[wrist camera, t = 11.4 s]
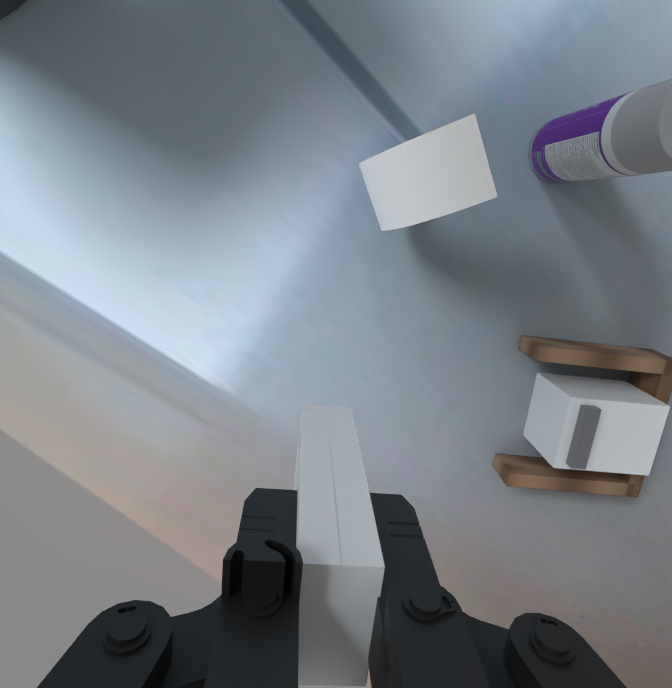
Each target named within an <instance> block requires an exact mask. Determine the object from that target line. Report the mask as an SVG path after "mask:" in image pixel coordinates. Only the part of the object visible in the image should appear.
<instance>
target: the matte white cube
mask: <svg viewBox="0 0 672 688" xmlns="http://www.w3.org/2000/svg"><path fill="white" fill-rule="evenodd" d="M669 409H670V406H669V405H667V404H665V403H663V402H662V401H660V400H658V399H656V398H654V397H653V396H651V395H649V394H647V393H645V392H644V391H642V390H640V389H638V388H636V387H635V386H633V385H631V384H629V383H628V382H626V381H622V380H611V379H601V378H590V377H580V376H569V375H559V374H548V373H538V372H537V377H536V381H535V385H534V390H533V394H532V398H531V403H530V407H529V412H528V416H527V420H526V425H525V429H524V433H523V435H524V437H525V438H526V439H527V440H528V441H529V442H530V443H531V444H532V445H533V446H534V447H535V449H536V450H537V451H538V452H539V453H540V454H541V455H542V456H543V457H544V458H545V459H546V460H547V462H548V463H549V464H550V465H551V466H552V467H553V468H561V469H573V470H586V471H598V472H610V473H623V474H635V475H647V476H649V474H650V471H651V467H652V464H653V461H654V458H655V454H656V451H657V448H658V445H659V442H660V438H661V435H662V432H663V429H664V425H665V422H666V419H667V416H668V412H669Z"/></svg>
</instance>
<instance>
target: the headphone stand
mask: <svg viewBox="0 0 672 688" xmlns="http://www.w3.org/2000/svg"><path fill="white" fill-rule="evenodd" d="M359 167H360V169H361V172H362V175H363V178H364V181H365V184H366V187H367V190H368V193H369V196H370V199H371V202H372V205H373V207H374V210H375V213H376V216H377V219H378V222H379V225H380V228H381V230H382V231H388V230H395V229H399V228H403V227H408V226H411V225H415V224H418V223H422V222H425V221H429V220H432V219H435V218H438V217H442V216H445V215H448V214H451V213H454V212H457V211H460V210H463V209H465V208H468V207H471V206H474V205H477V204H479V203H482V202H485V201H488V200H490V199H493V198H496V197H497V193H496V189H495V186H494V182H493V178H492V174H491V171H490V167H489V163H488V160H487V156H486V152H485V149H484V145H483V141H482V138H481V134H480V130H479V127H478V123H477V119H476V116H475V113H474V114H472V115H469V116H467V117H464V118H462V119H459V120H457V121H454V122H452V123H449V124H447V125H445V126H442V127H440V128H437V129H435V130H432V131H430V132H428V133H425V134H423V135H421V136H418V137H416V138H413V139H411V140H409V141H406V142H404V143H402V144H400V145H397V146H395V147H393V148H390V149H388V150H386V151H384V152H382V153H379V154H377V155H375V156H373V157H371V158H369V159H367V160H365V161H363V162H361V163H360V164H359Z"/></svg>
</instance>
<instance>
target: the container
mask: <svg viewBox="0 0 672 688" xmlns="http://www.w3.org/2000/svg"><path fill="white" fill-rule="evenodd" d="M529 161H530V165H531V167H532V169H533V171H534V172H535V173H536V175H537V176H538V177H540V178H541V179H543V180H545V181H548V182H569V181H580V180H591V179H602V178H613V177H624V176H635V175H642V174H650V173H657V172H664V171H672V79H671V80H668V81H665V82H661V83H658V84H655V85H652V86H648V87H645V88H642V89H639V90H635V91H632V92H629V93H627V94H624V95H621V96H618V97H615V98H613V99H610V100H607V101H604V102H601V103H599V104H596V105H593V106H590V107H588V108H585V109H582V110H579V111H576V112H574V113H571V114H568V115H565V116H562V117H560V118H557V119H554V120H552V121H549V122H547V123H546V124H544V125H543V126H542V127H541V128H540V129H539V130H538V131H537V132H536V133H535V135H534V137H533V139H532V141H531V144H530V148H529Z"/></svg>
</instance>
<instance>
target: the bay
mask: <svg viewBox="0 0 672 688" xmlns="http://www.w3.org/2000/svg"><path fill="white" fill-rule="evenodd" d="M519 349H520V350H521V351H523V352H524V353H525V354H527V355H528V356H530V357H531V358H533V359H534V360H536V361H542V362H551V363H560V364H570V365H579V366H589V367H598V368H608V369H617V370H626V371H632V375H631V378H630V381H629V384H631V385H633V386H635V387H636V388H638V389H640V390H642V391H644V392H645V393H647V394H649V395H651V396H653V397H654V398H656V399H658V400H660V401H662V402H663V403H665V404H667V403H668V400H669V397H670V394H671V391H672V358H671V357H668V356H666V355H664V354H661V353H659V352H657V351H654V350H651V349H642V348H633V347H624V346H615V345H606V344H596V343H587V342H578V341H569V340H560V339H551V338H542V337H533V336H524V335H522V336H521V340H520V345H519ZM492 466H493V467H494V468H495V470H496V471H497V473H498V474H499V476H500V477H501V479H502V480H503V482H504V483H505V484H506V486H514V487H525V488H537V489H548V490H560V491H572V492H583V493H595V494H606V495H618V496H630V497H638V495H639V492H640V489H641V485H642V482H643V479H644V476H645V475H635V474H623V473H610V472H598V471H586V470H573V469H561V468H553V467H552V466H551V465H550V464H549V463H548V462H547V460H546V459H545V458H539V457H528V456H517V455H506V454H495V455H494V460H493V464H492Z"/></svg>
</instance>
